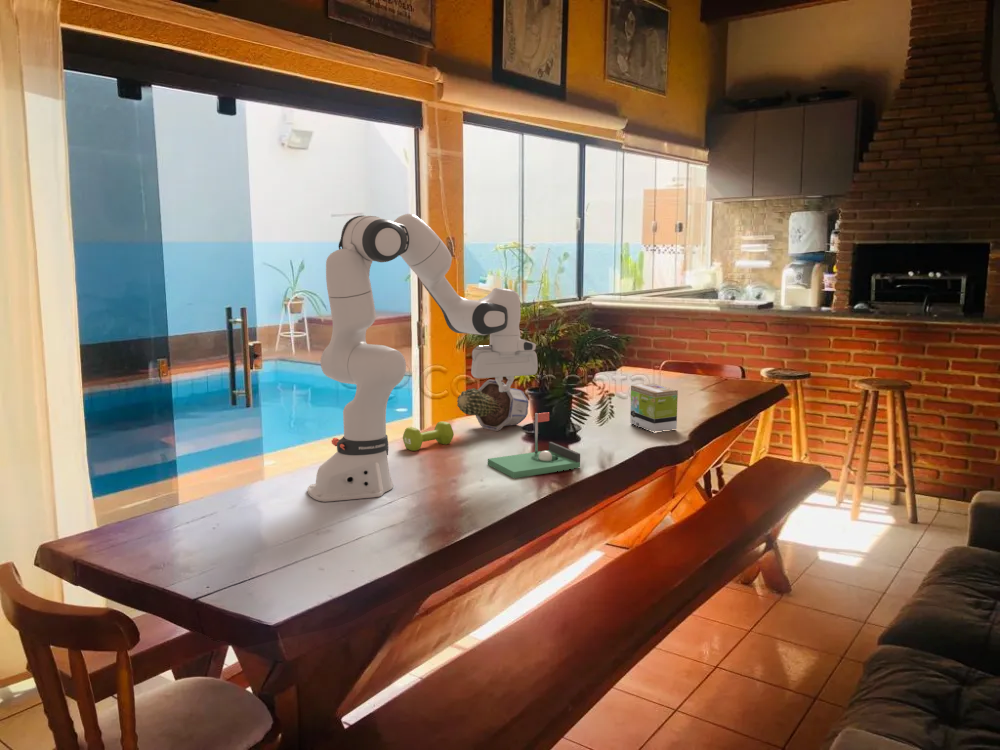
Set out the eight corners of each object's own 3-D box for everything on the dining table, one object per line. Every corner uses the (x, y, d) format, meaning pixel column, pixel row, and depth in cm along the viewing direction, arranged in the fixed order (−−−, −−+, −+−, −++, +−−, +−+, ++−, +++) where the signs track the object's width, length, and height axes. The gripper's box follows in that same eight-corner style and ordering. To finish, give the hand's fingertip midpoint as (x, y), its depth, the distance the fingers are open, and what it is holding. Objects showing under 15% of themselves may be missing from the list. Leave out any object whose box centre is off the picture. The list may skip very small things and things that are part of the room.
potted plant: (499, 380, 299) (446, 371, 275) (538, 388, 288) (487, 378, 264) (490, 427, 299) (437, 421, 275) (529, 436, 288) (477, 431, 264)
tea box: (629, 425, 290) (629, 384, 288) (652, 422, 294) (653, 382, 292) (653, 434, 276) (654, 391, 274) (677, 431, 281) (679, 389, 278)
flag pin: (535, 459, 245) (536, 413, 242) (534, 458, 245) (534, 413, 243) (549, 457, 247) (549, 412, 245) (548, 456, 248) (548, 411, 245)
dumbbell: (414, 453, 253) (414, 431, 251) (400, 448, 259) (399, 426, 257) (456, 444, 263) (456, 423, 262) (441, 440, 269) (441, 419, 268)
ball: (550, 467, 237) (540, 462, 235) (543, 464, 241) (533, 458, 239) (556, 455, 238) (547, 450, 236) (549, 452, 241) (540, 446, 239)
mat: (513, 478, 225) (513, 463, 224) (487, 464, 239) (487, 450, 238) (580, 468, 235) (580, 453, 234) (551, 455, 249) (551, 441, 248)
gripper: (476, 347, 226) (476, 395, 228) (540, 344, 235) (539, 390, 237) (467, 344, 231) (467, 392, 233) (530, 341, 240) (529, 387, 242)
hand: (504, 391), depth 235 cm, fingers closed
